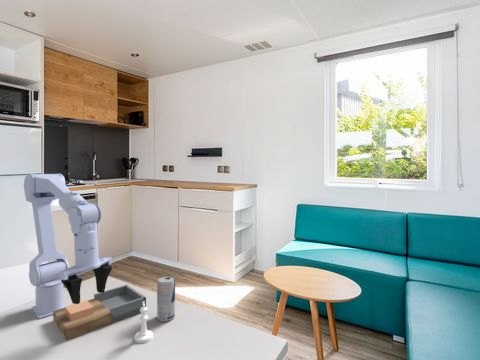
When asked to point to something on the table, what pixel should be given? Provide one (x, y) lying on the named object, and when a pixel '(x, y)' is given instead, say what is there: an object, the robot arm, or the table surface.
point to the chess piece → (143, 328)
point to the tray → (121, 302)
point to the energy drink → (166, 298)
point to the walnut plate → (83, 321)
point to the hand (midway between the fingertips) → (89, 297)
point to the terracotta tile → (79, 310)
